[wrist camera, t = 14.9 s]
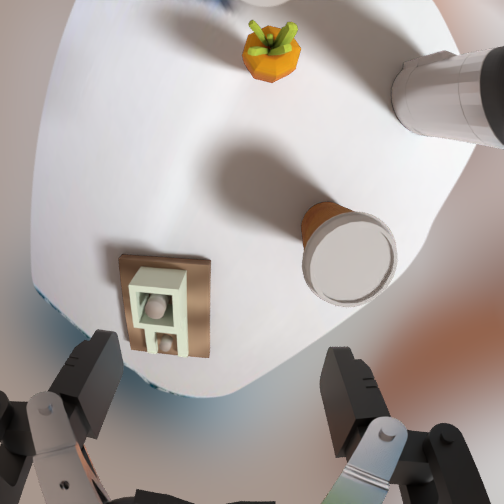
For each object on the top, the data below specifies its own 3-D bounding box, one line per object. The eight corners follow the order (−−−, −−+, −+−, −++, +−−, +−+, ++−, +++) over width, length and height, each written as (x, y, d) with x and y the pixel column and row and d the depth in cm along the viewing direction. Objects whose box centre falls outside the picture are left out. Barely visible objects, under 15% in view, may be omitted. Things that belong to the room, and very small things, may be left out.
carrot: (246, 94, 33) (245, 71, 19) (240, 54, 31) (236, 9, 17) (289, 89, 33) (317, 65, 19) (283, 50, 31) (306, 4, 17)
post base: (122, 254, 40) (103, 275, 34) (210, 260, 40) (204, 284, 34) (133, 343, 46) (121, 371, 40) (209, 351, 46) (205, 381, 40)
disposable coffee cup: (290, 187, 37) (308, 213, 26) (365, 191, 37) (409, 218, 26) (285, 261, 41) (299, 312, 29) (356, 261, 41) (390, 309, 30)
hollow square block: (140, 266, 39) (128, 284, 34) (186, 270, 39) (178, 289, 35) (149, 348, 44) (140, 371, 39) (188, 353, 44) (183, 376, 40)
